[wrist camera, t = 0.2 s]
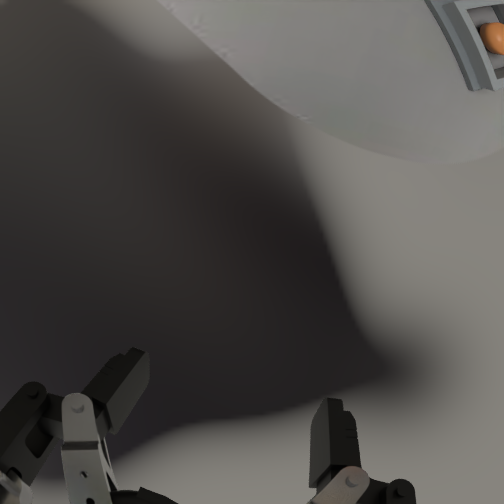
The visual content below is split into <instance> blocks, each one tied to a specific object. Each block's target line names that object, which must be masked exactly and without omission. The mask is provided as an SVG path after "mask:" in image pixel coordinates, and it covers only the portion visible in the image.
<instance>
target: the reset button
mask: <svg viewBox="0 0 504 504" xmlns="http://www.w3.org/2000/svg"><path fill="white" fill-rule="evenodd" d="M480 36H481V40H482V42H483V44H484V45H485V47H486V48H487V49H488V50H489V51H490V52H492V53H494V54H500V55H504V24H502V23H485V24H483V25H482V26H481V28H480Z"/></svg>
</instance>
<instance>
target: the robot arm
mask: <svg viewBox="0 0 504 504" xmlns="http://www.w3.org/2000/svg"><path fill="white" fill-rule="evenodd" d="M149 378H150V370H149V354H148V352H145V351H142V350H140V349H137V348H135V347H132V348H131V349H130V350H129V351H128V352H127V353H126V355H123V354H121V353H120V354H118V355H116V356H114V357H112V358H110V359H109V361H108V362H107V363H106V364H105V366H104V367H102V369H101V370H100V372H98V373H97V374H96V376H95V377H94V378H93V379H92V380H91V381H90V383H89V384H88V385H87V386H86V387H85V388H84V390H83V391H82V392H81V393H73V394H70V395H68V396H66V397H62V396H58V395H54V394H50V393H47V391H46V388H45V387H44V386H43V385H42V384H41V383H39V382H28V383H26V384H24V385H23V386H22V388H20V390H19V391H18V392H17V393H16V394H15V395H14V396H13V397H12V399H11V400H10V401H9V402H8V403H7V404H6V405H5V407H4V408H3V409H2V410H1V411H0V504H32V500H33V494H32V491H31V489H30V485H31V483H32V482H33V480H34V478H35V477H36V475H37V474H38V472H39V470H40V469H41V467H42V466H43V464H44V462H45V461H46V459H47V457H48V456H49V454H50V453H51V451H52V450H53V448H54V447H55V445H56V444H57V442H58V440H59V439H60V438H61V439H64V445H62V446H61V454H62V462H63V468H64V475H65V481H66V486H67V491H68V496H69V501H70V504H178V503H176V502H174V501H173V500H171V499H169V498H167V497H166V496H163V495H160V494H158V493H155V492H152V491H150V490H147V489H145V488H142V487H140V489H139V491H133V490H119V488H118V485H117V482H116V479H115V477H114V474H113V471H112V467H111V463H110V460H109V456H108V451H107V447H106V442H105V438H104V437H105V436H106V434H107V432H110V433H112V434H114V435H116V434H117V432H118V431H119V429H120V428H121V426H122V424H123V423H124V421H125V420H126V418H127V416H128V415H129V413H130V411H131V410H132V408H133V407H134V405H135V404H136V402H137V401H138V399H139V398H140V396H141V394H142V393H143V391H144V390H145V388H146V387H147V385H148V382H149ZM356 430H357V428H356V421H355V419H354V417H353V416H352V414H351V412H350V411H344V410H343V402H342V400H341V399H335V398H327V397H325V398H324V399H323V401H322V403H321V405H320V407H319V408H318V410H317V412H316V414H315V416H314V418H313V420H312V424H311V441H310V444H311V445H310V473H309V475H310V476H309V488H317V493H316V495H315V496H314V497H313V498H312V499H311V500H310V501H309V502H308V503H307V504H416V497H415V489H414V487H413V485H412V484H411V483H410V482H409V481H407V480H404V479H396V480H394V481H392V482H391V483H385V482H381V481H377V480H374V479H371V478H370V477H369V476H368V474H367V473H366V471H364V470H363V469H362V467H361V461H360V452H359V444H358V439H357V437H358V436H357V431H356Z"/></svg>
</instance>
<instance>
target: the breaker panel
mask: <svg viewBox="0 0 504 504" xmlns="http://www.w3.org/2000/svg"><path fill="white" fill-rule="evenodd" d="M425 2H426V4H427V5H428V7H429V8H430V10H431V12H432V13H433V15H434V17H435V18H436V20H437V22H438V24H439V26H440V27H441V29H442V31H443V33H444V35H445V37H446V39H447V41H448V43H449V45H450V47H451V49H452V51H453V53H454V55H455V57H456V60H457V62H458V64H459V67H460V69H461V71H462V74H463V76H464V79H465V81H466V84H467V86H468V89H469V90H471V91H476V90H479V89H482V88H486V89H489V90H492V91H496V90H499V89H502V88H504V67H502V68H499V69H496V70H494V69H493V67H492V64H491V62H490V59H489V57H488V54H487V52H486V49H485V47H484V45H483V42H482V40H481V38H480V36H479V34H478V32H477V30H476V28H475V26H474V24H473V22H472V20H471V18H470V16H469V14H468V12H467V10H466V9H472V8H477V7H484V6H490V5H492V7H493V9H494V11H495V13H496V15H497V17H498V19H499V21H500V23H502V24H504V0H425Z"/></svg>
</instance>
